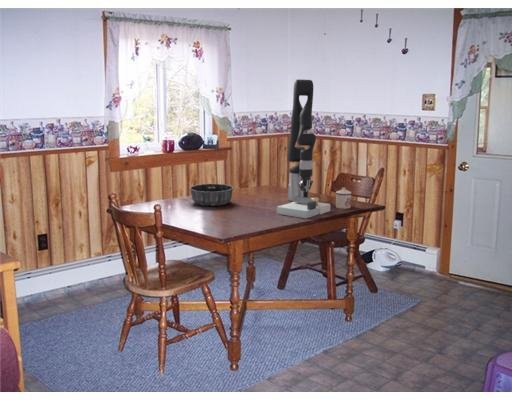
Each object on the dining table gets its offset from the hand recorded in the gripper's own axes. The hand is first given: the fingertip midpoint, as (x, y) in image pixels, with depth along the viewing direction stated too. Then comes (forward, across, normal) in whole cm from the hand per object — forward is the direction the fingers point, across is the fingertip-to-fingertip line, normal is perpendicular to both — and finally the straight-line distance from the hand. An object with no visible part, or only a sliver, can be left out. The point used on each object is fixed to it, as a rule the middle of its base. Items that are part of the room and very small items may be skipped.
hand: (305, 197), depth 358 cm
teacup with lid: (+7, -18, +16) cm, 25 cm away
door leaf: (+7, +15, +4) cm, 17 cm away
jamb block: (+6, +2, +5) cm, 8 cm away
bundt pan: (+6, +22, -52) cm, 57 cm away
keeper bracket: (+3, +15, +13) cm, 20 cm away
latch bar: (+2, +6, +4) cm, 8 cm away
